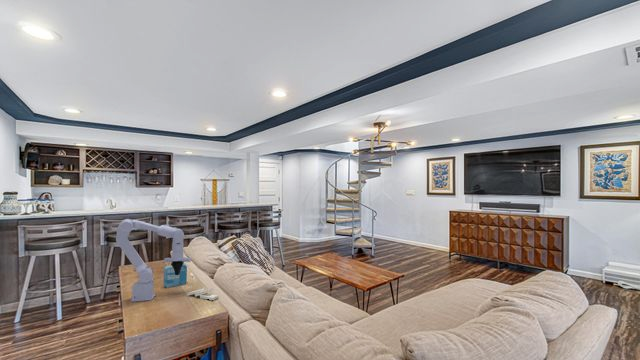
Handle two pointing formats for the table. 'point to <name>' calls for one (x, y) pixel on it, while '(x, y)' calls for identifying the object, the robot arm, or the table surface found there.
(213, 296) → the domino
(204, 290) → the domino
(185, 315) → the table surface
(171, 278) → the data package
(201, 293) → the domino
